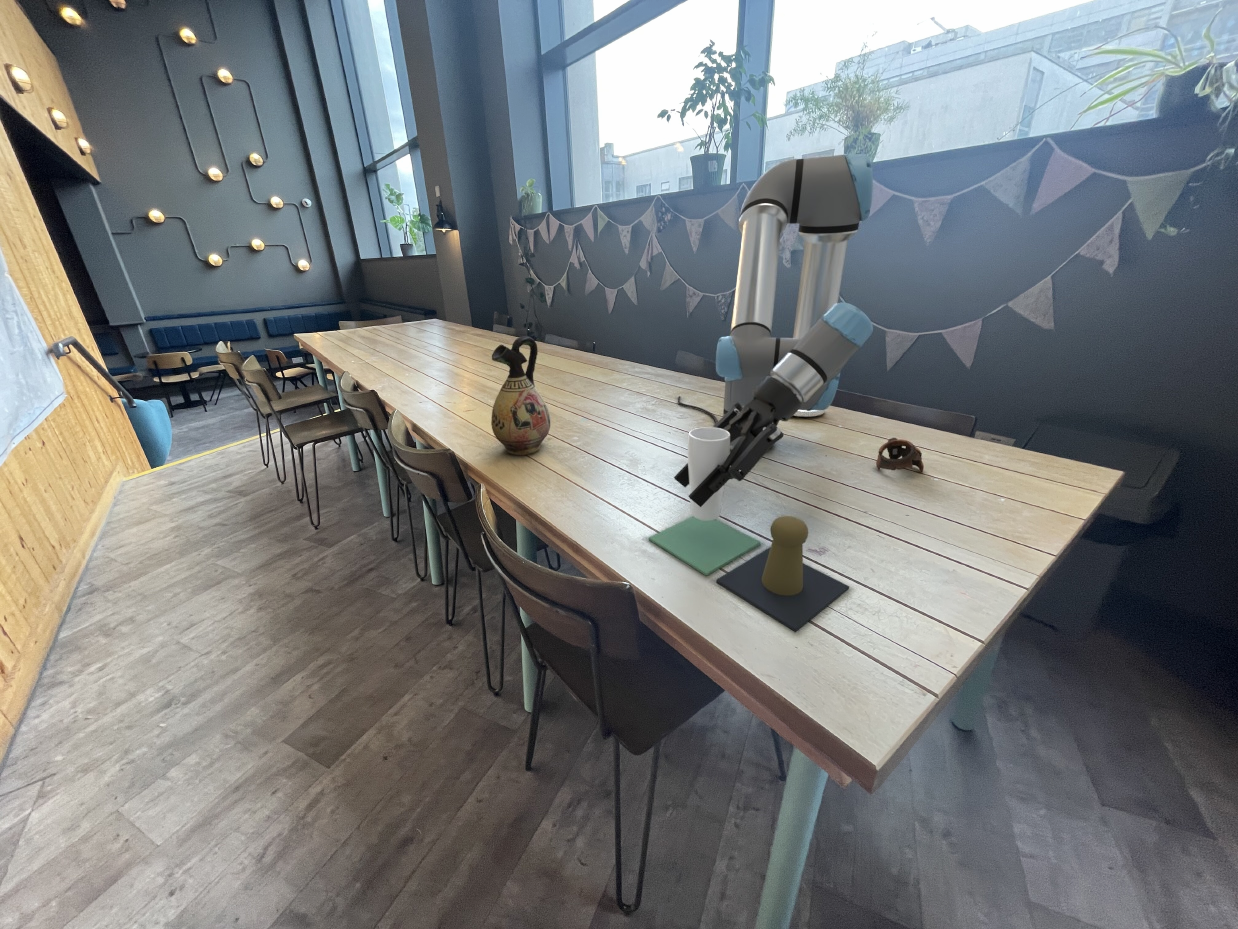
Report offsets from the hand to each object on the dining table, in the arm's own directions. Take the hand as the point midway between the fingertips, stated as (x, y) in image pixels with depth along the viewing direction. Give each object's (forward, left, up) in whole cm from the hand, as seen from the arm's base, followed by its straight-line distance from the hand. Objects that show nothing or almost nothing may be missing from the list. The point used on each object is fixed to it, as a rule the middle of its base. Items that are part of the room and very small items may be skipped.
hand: (686, 491), depth 79 cm
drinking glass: (+2, +3, -5) cm, 6 cm away
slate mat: (+18, +3, -11) cm, 21 cm away
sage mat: (+2, +3, -11) cm, 11 cm away
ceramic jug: (-61, +1, -11) cm, 62 cm away
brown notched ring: (+10, +60, -11) cm, 62 cm away
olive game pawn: (+18, +3, -10) cm, 21 cm away
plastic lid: (-29, +82, -11) cm, 88 cm away
